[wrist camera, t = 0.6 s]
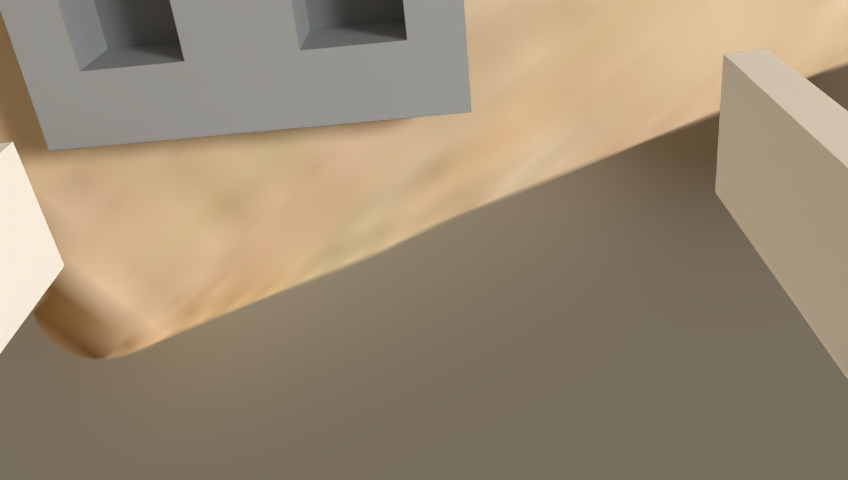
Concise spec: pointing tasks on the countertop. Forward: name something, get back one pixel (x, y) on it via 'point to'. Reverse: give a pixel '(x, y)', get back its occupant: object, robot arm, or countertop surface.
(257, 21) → the bore block
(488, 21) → the countertop surface
